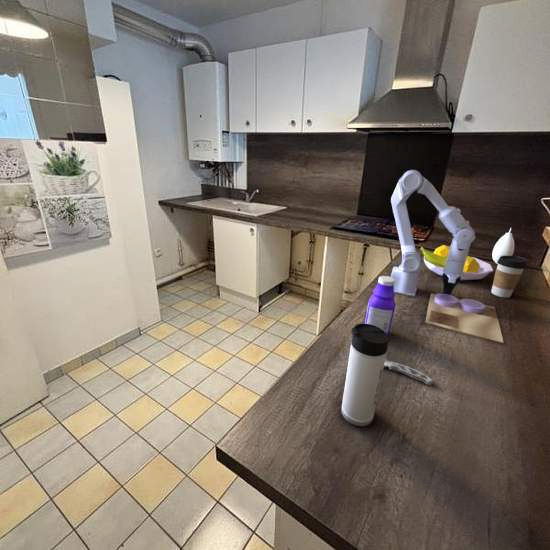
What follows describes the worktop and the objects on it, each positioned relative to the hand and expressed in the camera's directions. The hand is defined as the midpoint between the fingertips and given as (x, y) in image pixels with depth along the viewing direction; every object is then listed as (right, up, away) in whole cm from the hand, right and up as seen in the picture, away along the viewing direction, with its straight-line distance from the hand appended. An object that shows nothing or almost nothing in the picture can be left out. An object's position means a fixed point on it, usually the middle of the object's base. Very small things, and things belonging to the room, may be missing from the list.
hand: (446, 293), depth 107 cm
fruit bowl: (+15, +7, +23) cm, 28 cm away
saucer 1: (-3, -3, -4) cm, 5 cm away
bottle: (-33, -10, -21) cm, 41 cm away
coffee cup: (+23, -1, +4) cm, 23 cm away
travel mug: (-47, -21, -48) cm, 70 cm away
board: (-2, -6, -11) cm, 13 cm away
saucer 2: (+4, -4, -7) cm, 10 cm away
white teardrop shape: (+47, +20, +32) cm, 60 cm away
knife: (-34, -16, -36) cm, 52 cm away
